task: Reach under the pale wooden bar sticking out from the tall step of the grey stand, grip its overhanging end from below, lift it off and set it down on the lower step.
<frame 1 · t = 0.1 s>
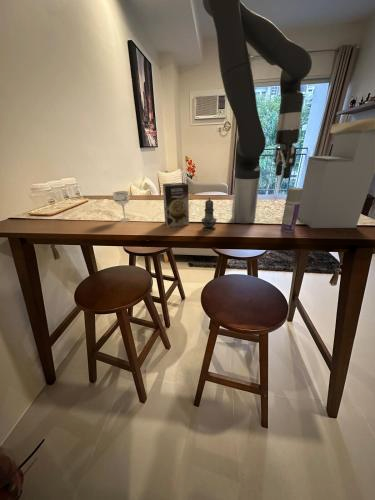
hand: (282, 176, 82), 17 cm above the table, tool pointing down, fingers open, 8 cm apart
salt shaker: (208, 229, 83), on the table
container: (287, 230, 79), on the table
wooden bar: (354, 131, 74), point 32 cm above the table, touching stepped stand
coffee box: (177, 224, 89), on the table
wineglass: (125, 220, 96), on the table
stepped stand: (323, 221, 86), on the table
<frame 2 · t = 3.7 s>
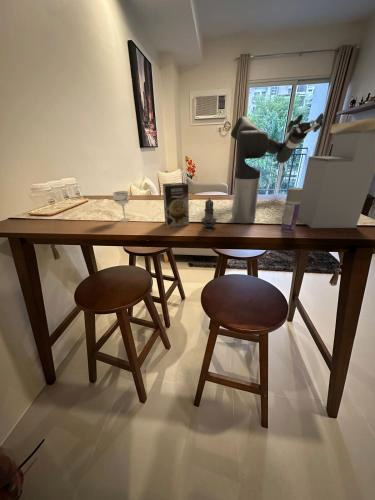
hand: (312, 115, 93), 39 cm above the table, tool pointing upward, fingers open, 8 cm apart
nothing on the table moved.
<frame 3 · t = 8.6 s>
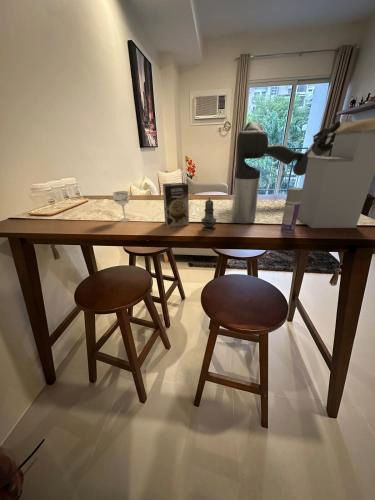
hand: (345, 123, 79), 35 cm above the table, tool pointing upward, fingers closed on wooden bar, 4 cm apart
wooden bar: (354, 131, 74), point 32 cm above the table, touching gripper, stepped stand
everything else where it was.
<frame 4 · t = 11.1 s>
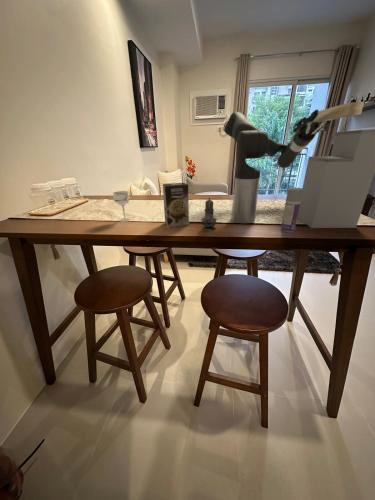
hand: (323, 111, 77), 39 cm above the table, tool pointing upward, fingers closed on wooden bar, 4 cm apart
wooden bar: (331, 118, 73), point 36 cm above the table, touching gripper
everything else where it was.
when the fingers open (28 cm above the table, at t = 14.0 s): wooden bar drops 1 cm, resting on stepped stand.
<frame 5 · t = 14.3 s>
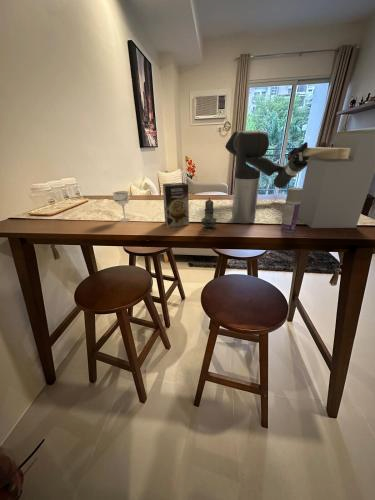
hand: (315, 144, 83), 28 cm above the table, tool pointing upward, fingers open, 6 cm apart
wooden bar: (322, 156, 78), point 24 cm above the table, touching stepped stand
everything else where it was.
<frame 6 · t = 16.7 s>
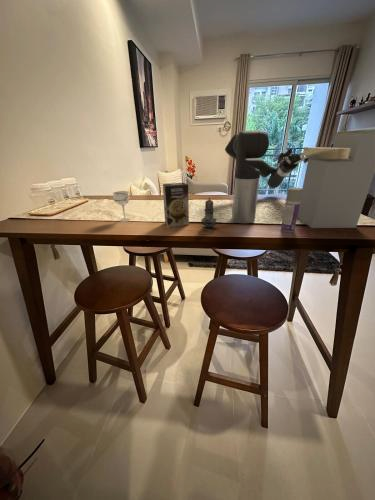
hand: (301, 149, 94), 26 cm above the table, tool pointing upward, fingers open, 8 cm apart
nothing on the table moved.
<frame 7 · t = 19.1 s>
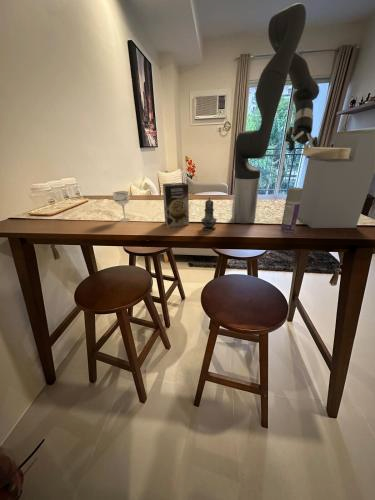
hand: (300, 153, 91), 25 cm above the table, tool tilted 40°, fingers open, 8 cm apart
nothing on the table moved.
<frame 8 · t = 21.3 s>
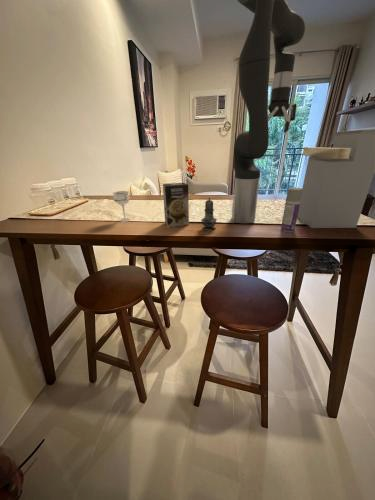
hand: (275, 132, 95), 33 cm above the table, tool pointing down, fingers open, 8 cm apart
nothing on the table moved.
at the end: wooden bar inside the target area (0.4 cm from its centre), point 24.0 cm above the table; wooden bar tilted 0°; the gripper is holding nothing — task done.
